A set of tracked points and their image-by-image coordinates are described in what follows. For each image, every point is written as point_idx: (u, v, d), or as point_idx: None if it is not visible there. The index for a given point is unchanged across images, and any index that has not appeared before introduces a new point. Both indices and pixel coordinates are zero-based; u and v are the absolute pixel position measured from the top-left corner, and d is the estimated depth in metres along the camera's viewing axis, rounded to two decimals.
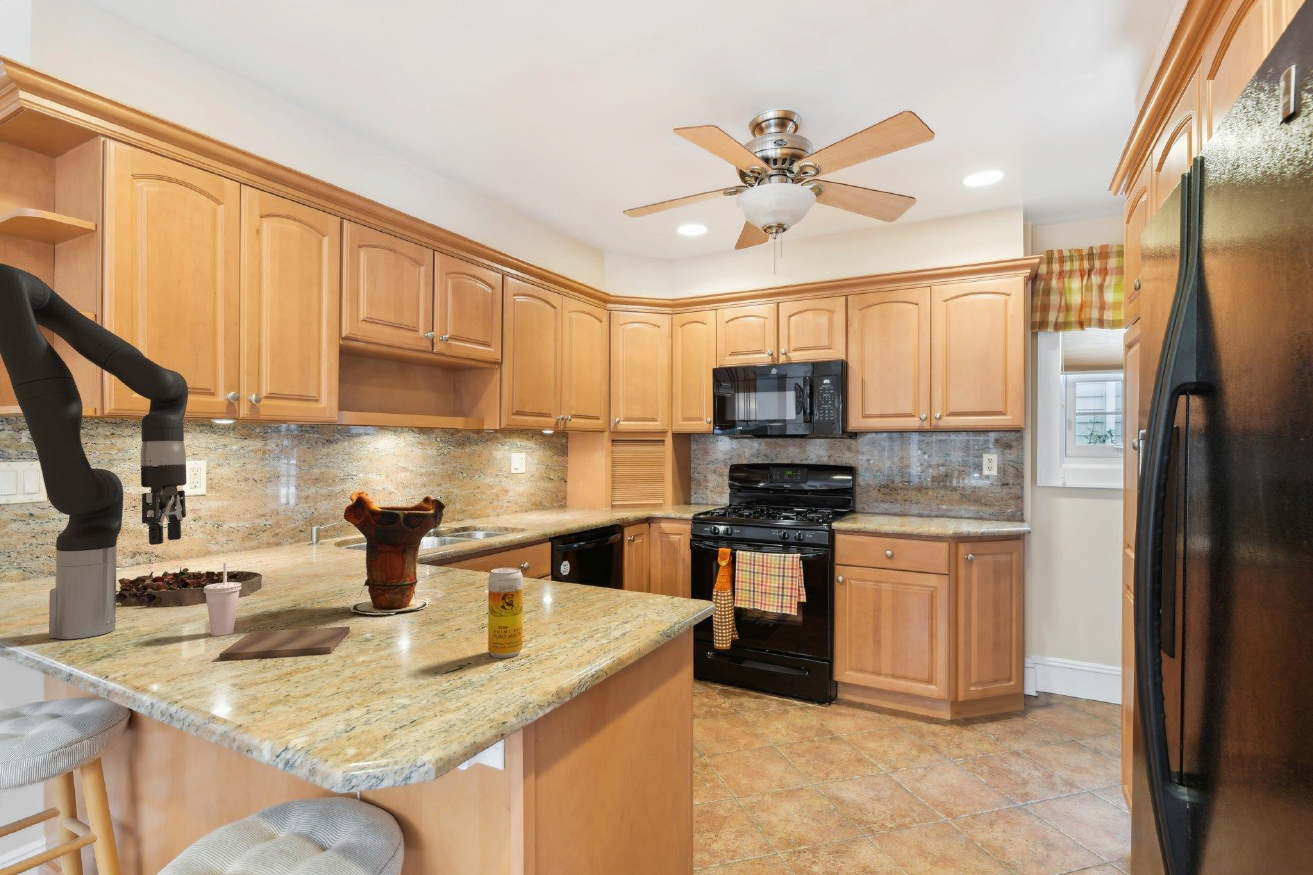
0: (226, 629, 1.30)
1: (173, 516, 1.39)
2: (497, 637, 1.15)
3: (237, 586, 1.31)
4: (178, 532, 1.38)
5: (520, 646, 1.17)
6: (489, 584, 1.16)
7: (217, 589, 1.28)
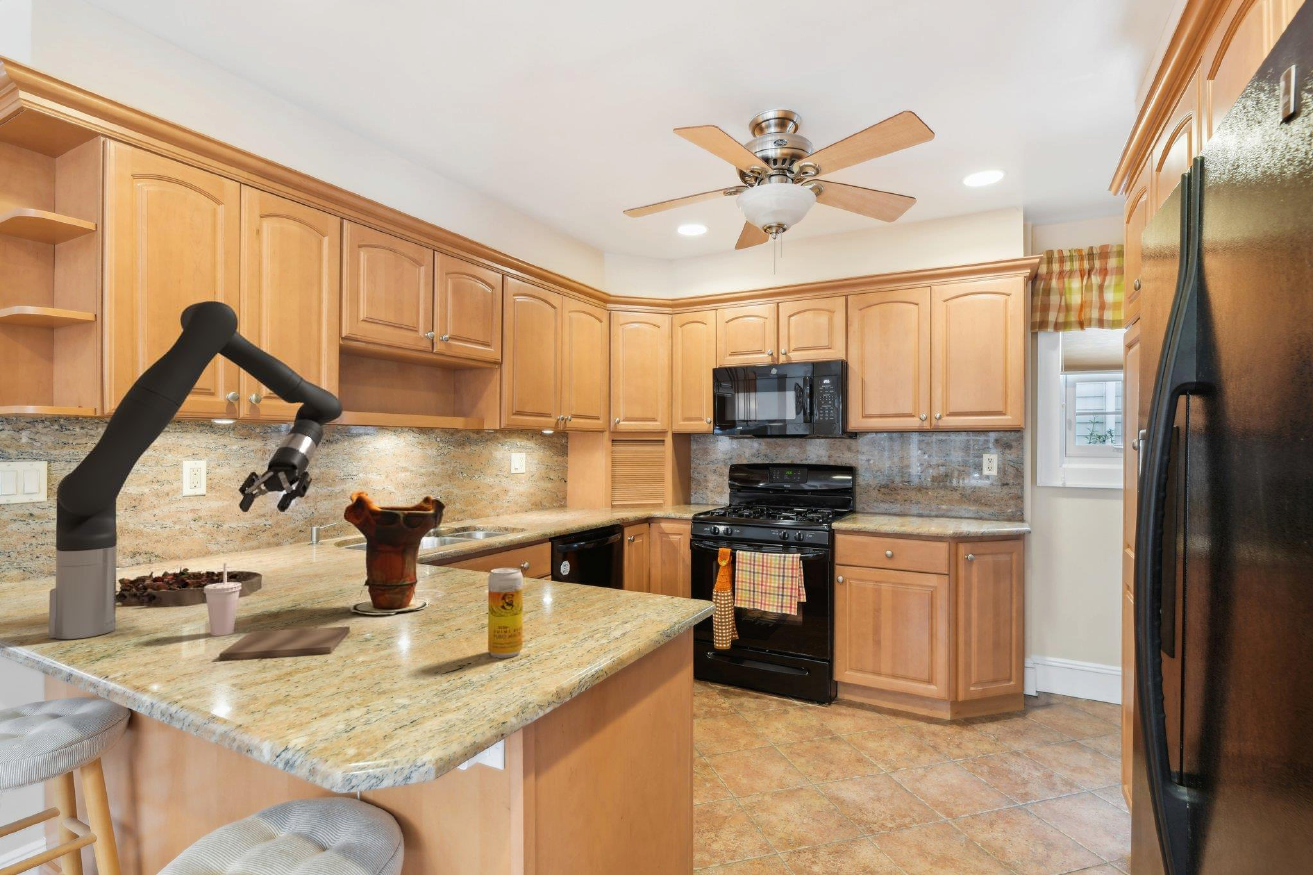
0: (226, 629, 1.30)
1: None
2: (497, 637, 1.15)
3: (237, 586, 1.31)
4: (249, 507, 1.45)
5: (520, 646, 1.17)
6: (489, 584, 1.16)
7: (217, 589, 1.28)
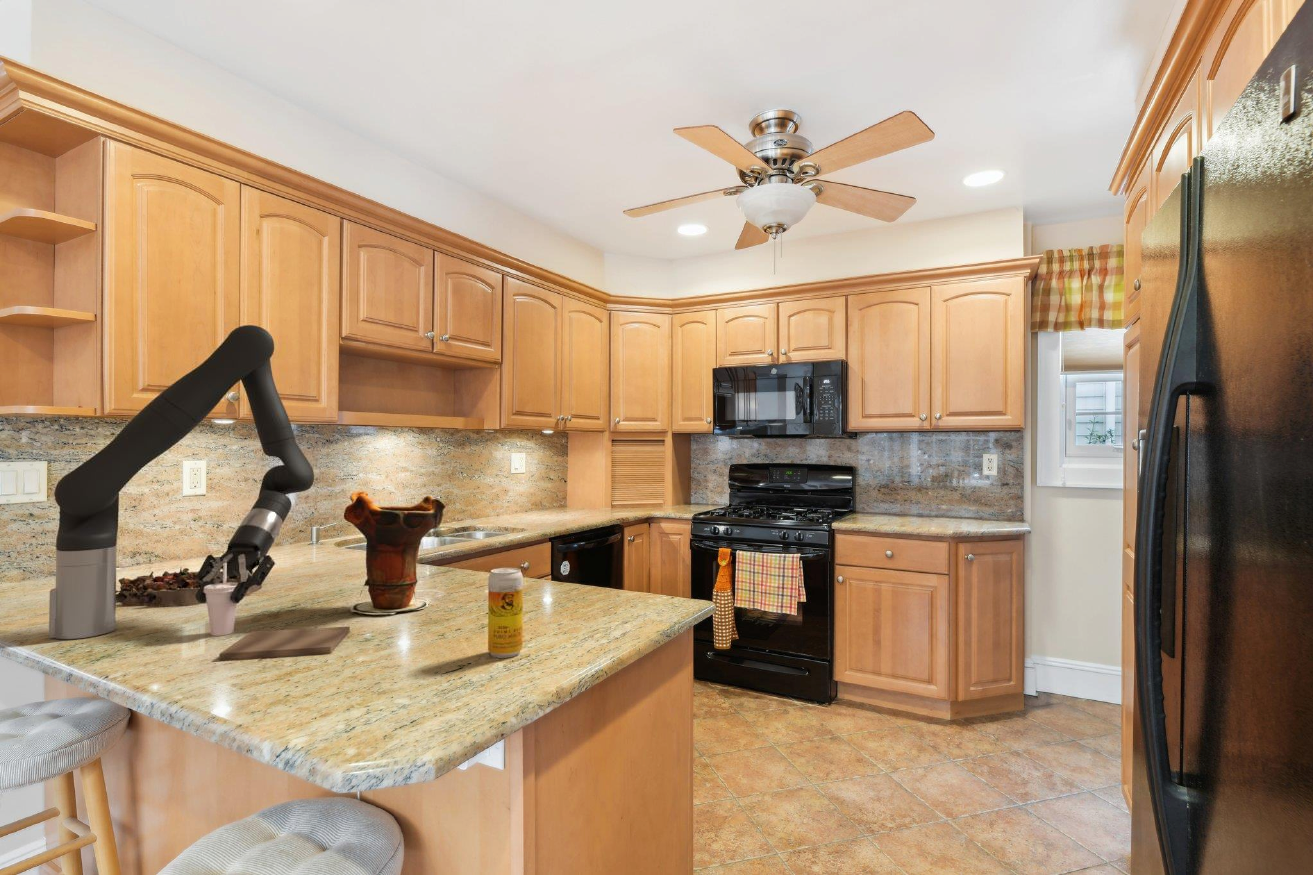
0: (226, 629, 1.30)
1: (210, 579, 1.33)
2: (497, 637, 1.15)
3: None
4: None
5: (520, 646, 1.17)
6: (489, 584, 1.16)
7: (217, 589, 1.28)
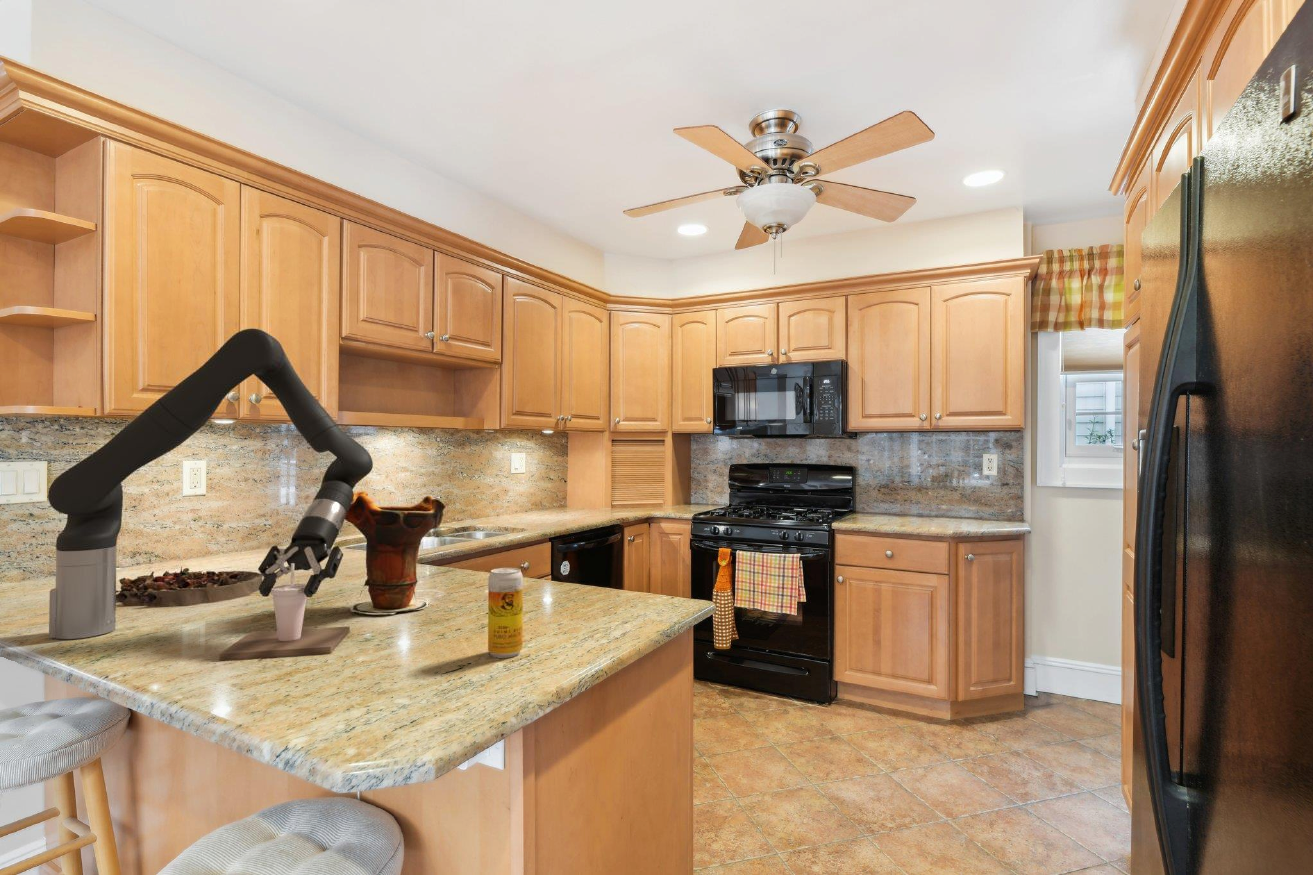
0: (294, 634, 1.22)
1: None
2: (497, 637, 1.15)
3: None
4: (270, 590, 1.24)
5: (520, 646, 1.17)
6: (489, 584, 1.16)
7: (286, 591, 1.20)
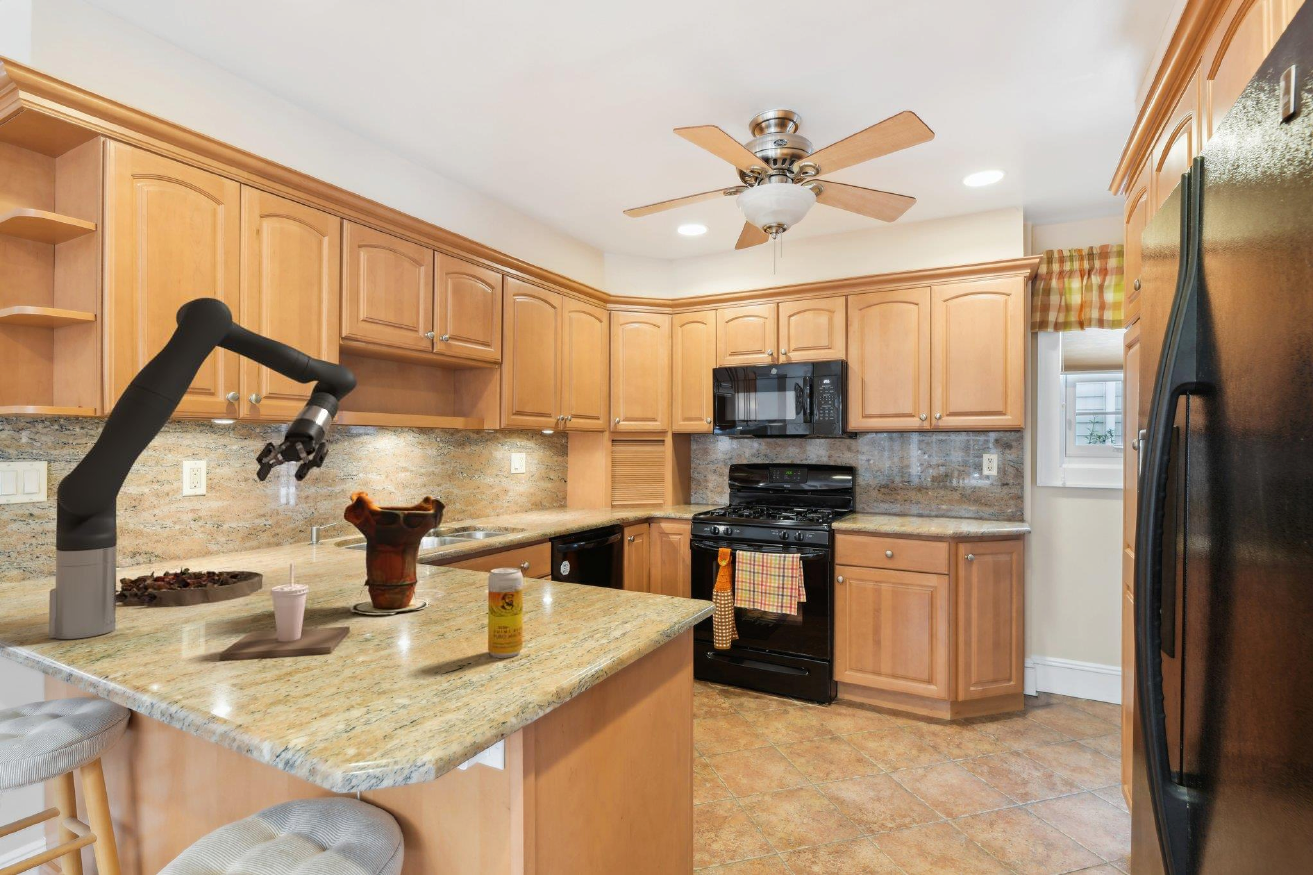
0: (294, 634, 1.22)
1: None
2: (497, 637, 1.15)
3: (305, 588, 1.23)
4: (266, 476, 1.45)
5: (520, 646, 1.17)
6: (489, 584, 1.16)
7: (285, 592, 1.20)
